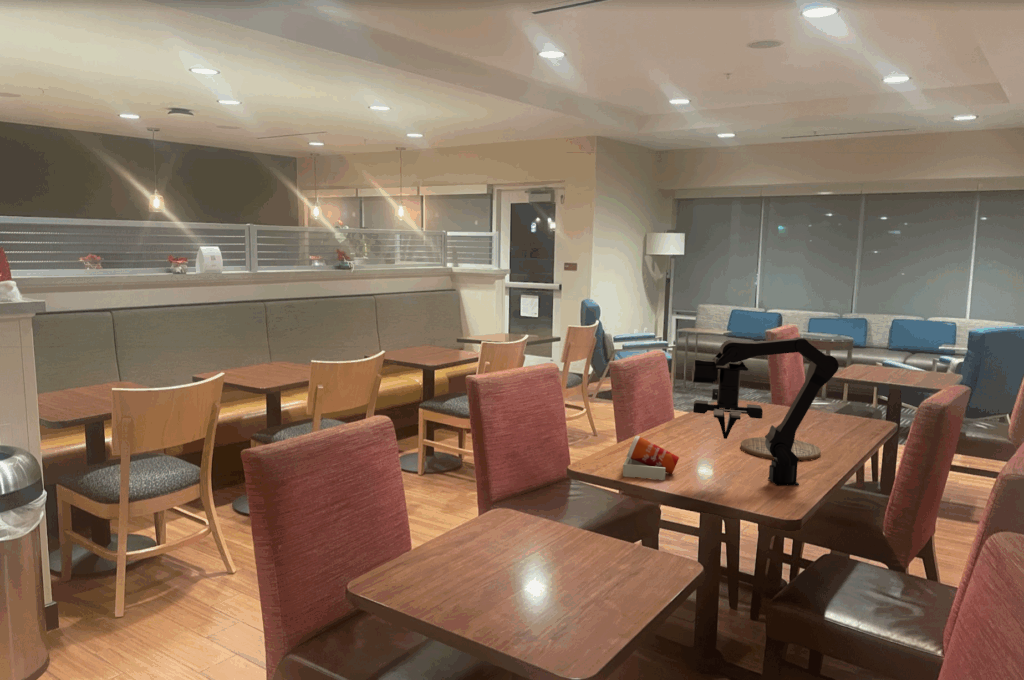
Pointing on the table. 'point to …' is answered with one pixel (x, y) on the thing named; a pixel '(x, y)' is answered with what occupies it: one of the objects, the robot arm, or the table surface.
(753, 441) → the trivet
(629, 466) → the tray
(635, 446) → the paper cup
